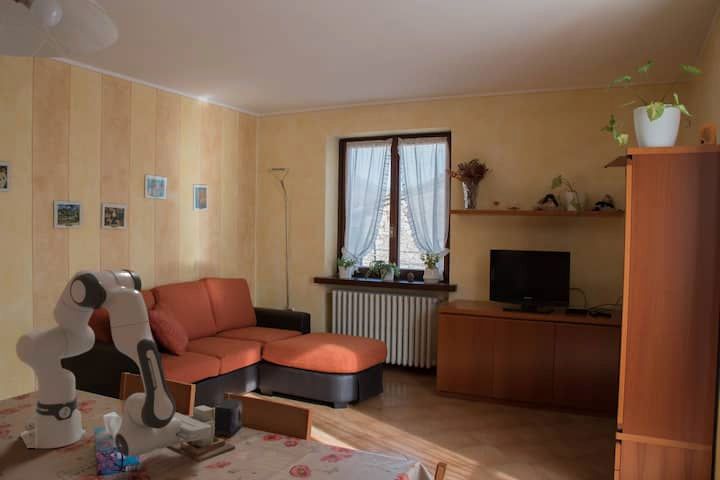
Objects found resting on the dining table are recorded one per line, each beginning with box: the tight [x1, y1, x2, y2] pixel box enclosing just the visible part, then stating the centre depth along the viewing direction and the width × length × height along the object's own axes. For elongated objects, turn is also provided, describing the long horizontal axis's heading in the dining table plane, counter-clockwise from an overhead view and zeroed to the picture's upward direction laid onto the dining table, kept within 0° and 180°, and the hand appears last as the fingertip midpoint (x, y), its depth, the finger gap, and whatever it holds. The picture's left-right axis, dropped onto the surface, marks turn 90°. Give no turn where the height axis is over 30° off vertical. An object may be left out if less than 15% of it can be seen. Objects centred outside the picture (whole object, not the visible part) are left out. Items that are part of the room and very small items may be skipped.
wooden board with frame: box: [167, 436, 236, 462], centre depth 194 cm, size 20×14×2 cm
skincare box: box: [192, 404, 215, 447], centre depth 192 cm, size 6×4×12 cm
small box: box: [214, 398, 243, 438], centre depth 208 cm, size 11×6×10 cm, turn 168°
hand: (205, 420), depth 193 cm, fingers closed on skincare box, 6 cm apart
